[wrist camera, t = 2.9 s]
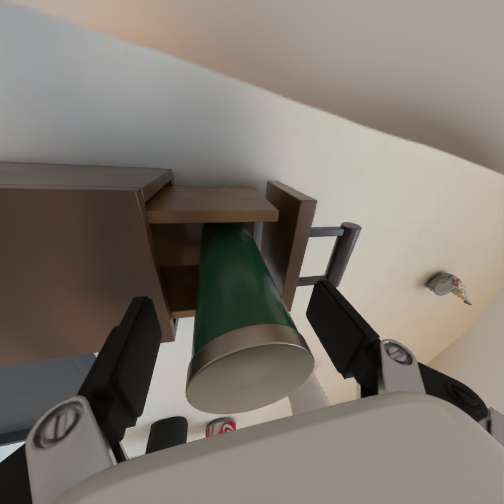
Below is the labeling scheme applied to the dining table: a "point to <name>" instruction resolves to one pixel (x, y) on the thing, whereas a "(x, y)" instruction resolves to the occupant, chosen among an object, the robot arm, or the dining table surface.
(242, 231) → the tin
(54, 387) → the tray
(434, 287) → the figurine
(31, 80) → the dining table surface
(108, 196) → the cabinet
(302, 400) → the coffee cup
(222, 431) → the beverage can
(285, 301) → the drawer
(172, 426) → the sushi
